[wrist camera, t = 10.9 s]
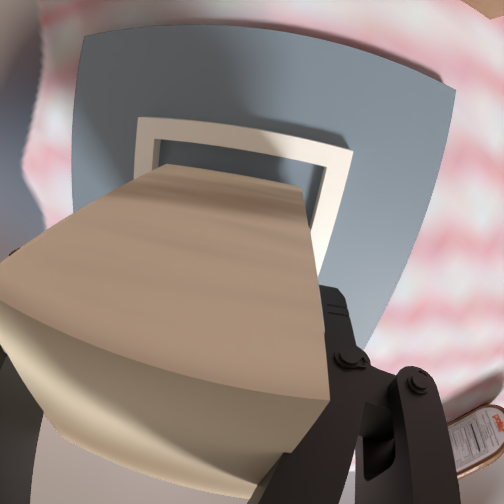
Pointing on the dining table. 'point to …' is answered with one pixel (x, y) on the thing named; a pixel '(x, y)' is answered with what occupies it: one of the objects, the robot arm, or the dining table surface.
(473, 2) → the walnut block
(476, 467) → the tin
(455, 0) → the dining table surface
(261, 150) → the square frame
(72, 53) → the dining table surface
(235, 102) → the baseboard
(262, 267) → the birch block
